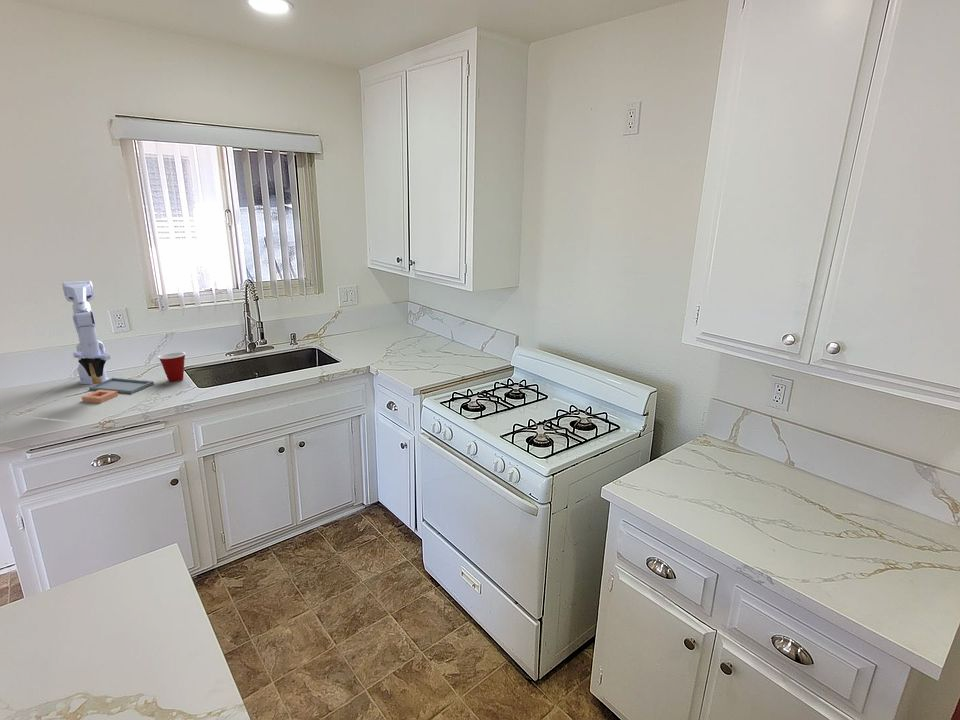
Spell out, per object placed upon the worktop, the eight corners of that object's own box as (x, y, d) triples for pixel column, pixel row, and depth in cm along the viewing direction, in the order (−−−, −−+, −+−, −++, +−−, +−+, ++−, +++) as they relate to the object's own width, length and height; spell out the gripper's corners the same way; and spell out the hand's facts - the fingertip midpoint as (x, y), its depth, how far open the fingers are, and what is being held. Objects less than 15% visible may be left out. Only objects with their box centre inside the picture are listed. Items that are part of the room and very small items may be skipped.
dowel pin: (90, 383, 206) (86, 364, 204) (97, 381, 209) (93, 362, 207) (97, 384, 206) (93, 365, 203) (103, 382, 209) (99, 362, 206)
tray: (89, 390, 218) (88, 386, 217) (113, 381, 229) (112, 377, 229) (132, 395, 215) (131, 390, 214) (154, 385, 226) (153, 381, 226)
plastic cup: (183, 374, 240) (179, 349, 237) (193, 379, 234) (190, 354, 230) (157, 379, 232) (153, 354, 229) (167, 385, 226) (163, 359, 222)
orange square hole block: (82, 402, 206) (81, 396, 205) (100, 395, 214) (99, 389, 213) (101, 404, 205) (99, 398, 204) (118, 396, 213) (117, 391, 212)
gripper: (63, 344, 200) (70, 377, 204) (96, 347, 197) (103, 380, 202) (79, 339, 206) (86, 372, 210) (112, 342, 204) (118, 374, 208)
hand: (95, 376), depth 206 cm, fingers closed on dowel pin, 3 cm apart
